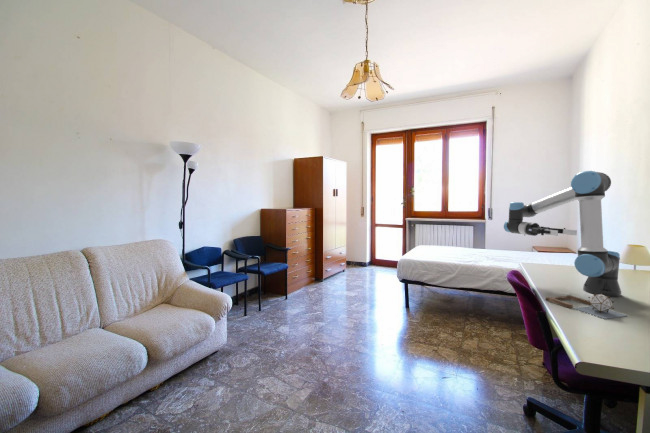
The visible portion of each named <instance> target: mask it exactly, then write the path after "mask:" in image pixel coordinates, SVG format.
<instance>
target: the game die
mask: <svg viewBox="0 0 650 433" xmlns="http://www.w3.org/2000/svg"><path fill="white" fill-rule="evenodd" d="M610 298H611V296H604V295H602V292H601V294H599V295H597V294H593V296H591V297H590V296H588V299H589V301H590V303H588V304H591V306H592V307H593V308H592V309H596V310H598V311H600V313H601V312H603V311H607V312H608V310H615V308H614V307H613V303H614V302H615V301H613V300H611V299H610Z"/></svg>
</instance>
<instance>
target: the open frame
mask: <svg viewBox="0 0 650 433" xmlns="http://www.w3.org/2000/svg"><path fill="white" fill-rule="evenodd" d="M565 300H570V301H575V302H578V303H581V304H584V305H588V306H591V304H588V303H590V300H587V299H585V298H581V297H578V296H574V295H571V294H567V295H563V296H552V297H550V296H546V297H545V301H547V302H550V303H553V304H556V305H559V306H561V307H565V308H567V309H574V304H573V303H572V304H571V303H569V302H566V301H565Z"/></svg>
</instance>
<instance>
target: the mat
mask: <svg viewBox="0 0 650 433" xmlns="http://www.w3.org/2000/svg"><path fill="white" fill-rule="evenodd" d="M592 308H593V307H592V306H590V305H588V306H581V307H578V306H577V307H573V310H575V309H576V311H578V310H579V311H578V312H581V311H582V312H581V313H584V312H585V313H584V314H587V313H588V314H587V315H590V314H591V316H593V315H594V316H593V317H596V316H598V317H597V318H599V317H600V318H599V319H602V318H603V320H609V319H618V318H625V317H628V315H627V314H625V313H620V312H618V311H614V310H612V309H609V310H608V312H607V311H603V312H601V313H600V311H598V310H596V309H592Z"/></svg>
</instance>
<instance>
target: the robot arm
mask: <svg viewBox="0 0 650 433" xmlns="http://www.w3.org/2000/svg"><path fill="white" fill-rule="evenodd" d="M611 184H612V180H611V177H610V176H609V175H608V174H606V173H605V172H599V171H595V170H586V171H585V170H584V171H580V172H578V173H577V174H575V175H574V176H573V177H572V179H571V181H570V187H569V188H566V189H563V190H560V191H557V192H556V193H553V194H551V195H548V196H546V197H544V198H541V199H539V200H536V201H532V202H531V203H529V204H524V202H521V201H520V202H518V201H517V202H516V201H511V202H510V203H509V207H508V220H506V221H505V222H504V224H503V229H504V231H505V232H507V233H511V234H518V235H523V236H526V235H527V236H534V237H535V236H536V237H537V236H538V235H540V236H544V235H549V236H556V237H557V236H559V234H562V235H568V236H569V235H570V236H577V235H578V230H576V229H567V228H566V227H563V228H555V227H549V226H548V227H547V226H540V225H539V224H538V223H537V222H528V221H523V220H524V218H532V217H535V216H536V215H538V214H540V213H543V212H546V211H549V210H552V209H554V208H557V207H559V206H563V205H566V204H568V203H571V202H574V201H576V200H578V201H579V202H578V205H579V206H578V207H579V226H580V229H579V230H580V247H579V248H577V257H576V258H575V260H574V267H575V269H576V271H577V272H578V273H580V274H581V275H582V276H585V277H587V278H586V281H585V282H584V283H583V286H582V288H583V291H585V292H587V293H590V294H592V295H594V294H595V295H599V294H601V292H602V295H604V296H607V297H608V296H610V298H611V297H613V298H614V297H615V298H619V297H622V290H621V287H620V284H619V280H618V279H619V271H620V270H619V269H620V260H621V257H620V256H621V255H620V253H619V251H618V252H617V251H611V250H608V249H607V248H605V247H604V232H603V230H604V228H603V212H602V210H603V208H602V200H603V199H604V198H605V197H606V192H607V191H608V190H609V189H610V187H611V186H612V185H611Z"/></svg>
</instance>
